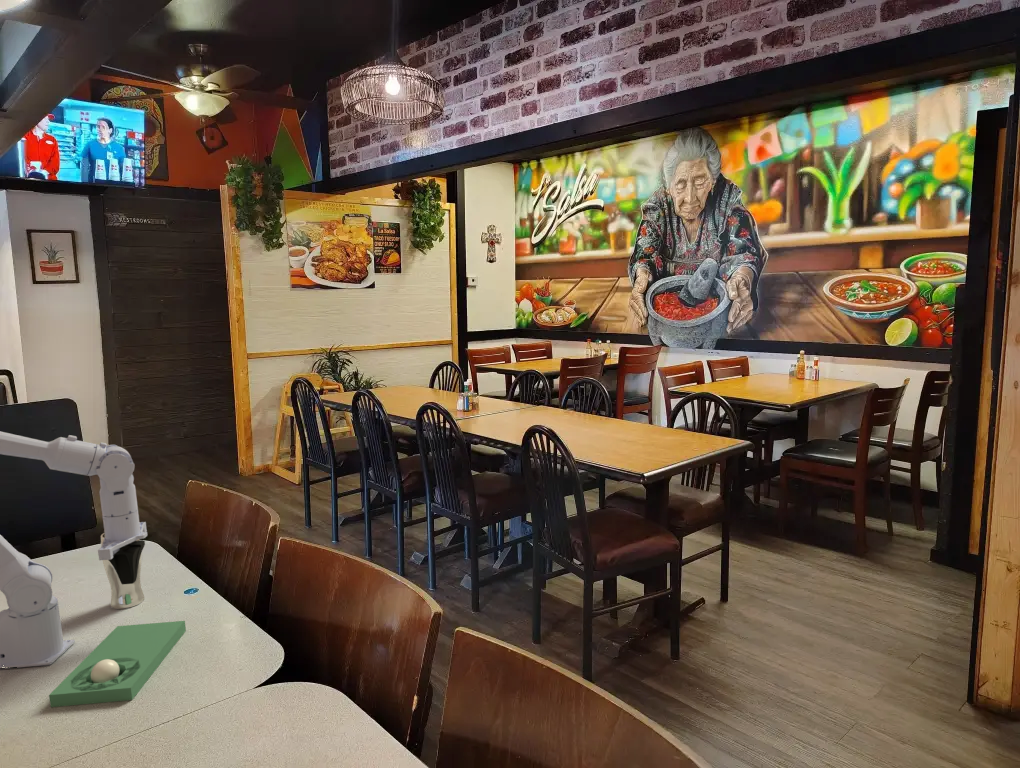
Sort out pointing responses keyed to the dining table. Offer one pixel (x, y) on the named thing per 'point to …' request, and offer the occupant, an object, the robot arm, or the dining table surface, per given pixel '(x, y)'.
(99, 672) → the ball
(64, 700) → the putting mat
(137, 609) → the dining table surface
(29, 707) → the dining table surface
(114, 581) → the beer glass
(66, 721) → the dining table surface
